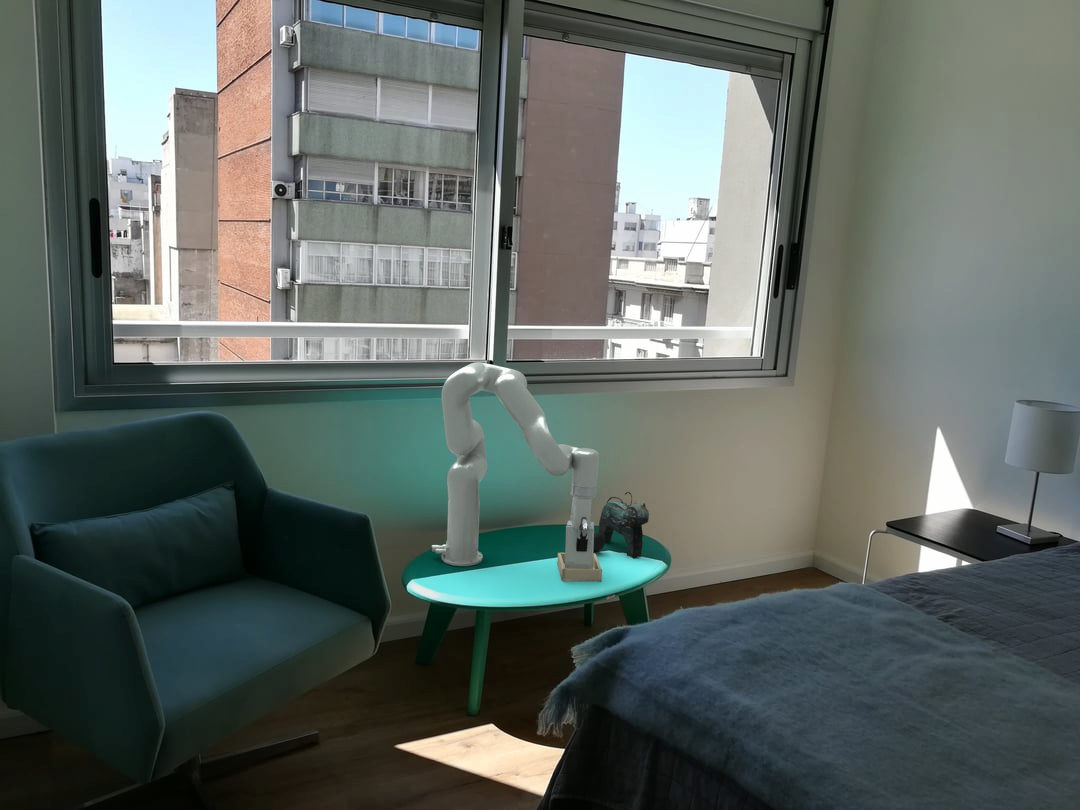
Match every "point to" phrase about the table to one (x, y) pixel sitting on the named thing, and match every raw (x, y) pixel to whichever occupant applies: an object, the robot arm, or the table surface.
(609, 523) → the ceramic cat
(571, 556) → the skincare box
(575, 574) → the holder
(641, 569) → the table surface
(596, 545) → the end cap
